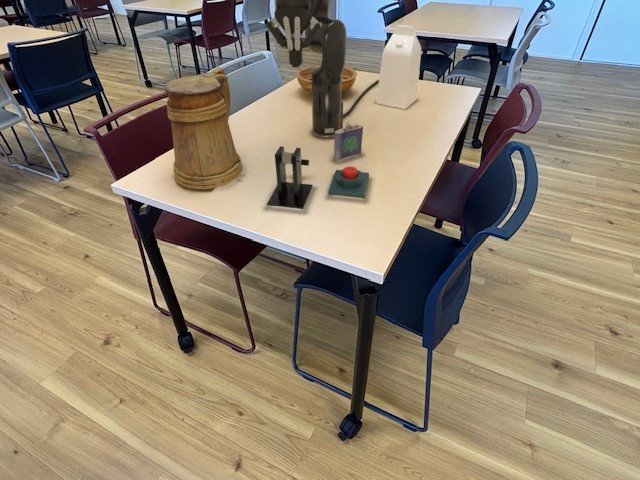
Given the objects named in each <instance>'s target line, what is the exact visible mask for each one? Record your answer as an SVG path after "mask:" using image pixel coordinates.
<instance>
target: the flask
mask: <svg viewBox="0 0 640 480" xmlns="http://www.w3.org/2000/svg"><path fill="white" fill-rule="evenodd" d="M363 130H364V126H362V125H360V124H354V125H352V124H351V122H350V121H345V127H343V129H340V130H337V131H335V134H334V135H335V137H334V141H333V143H334V145H333V159H334V160H337V161H339V160H342V159H344V158H347V157H351V156H354V155H359V154H361V153H362V144H363V143H362V142H363V134H364V132H363Z"/></svg>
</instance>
